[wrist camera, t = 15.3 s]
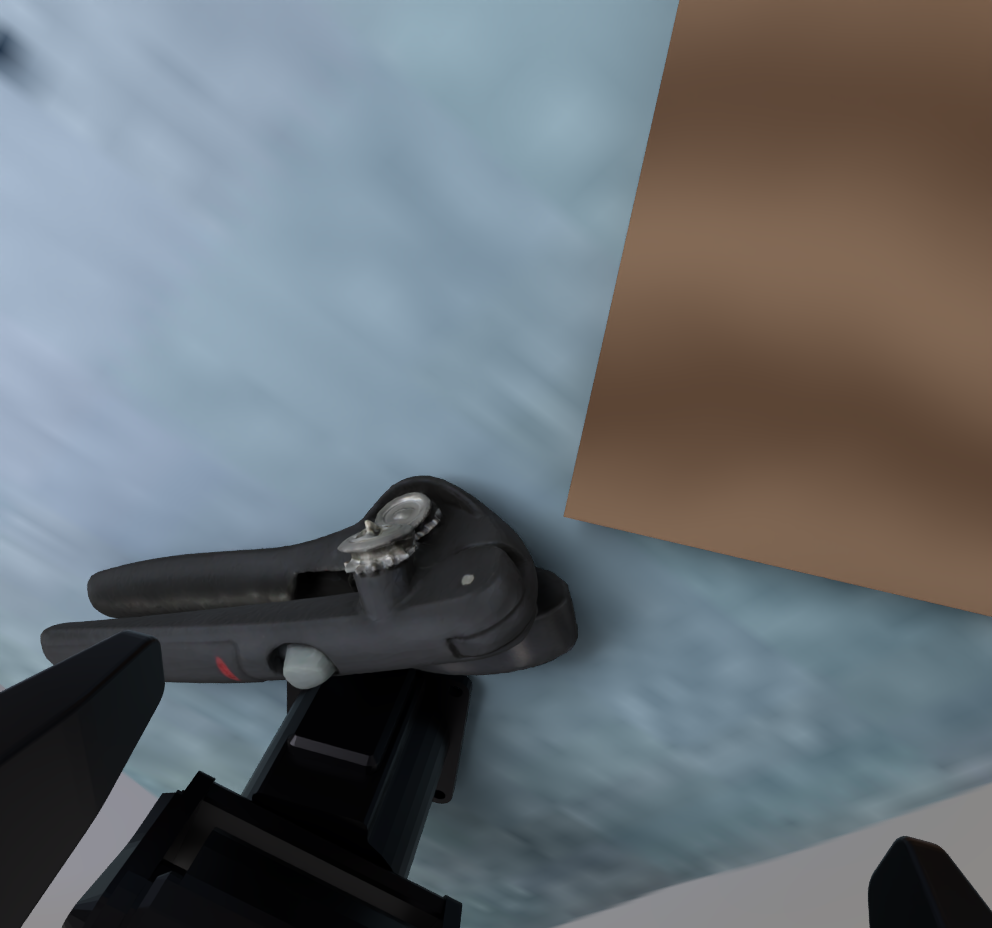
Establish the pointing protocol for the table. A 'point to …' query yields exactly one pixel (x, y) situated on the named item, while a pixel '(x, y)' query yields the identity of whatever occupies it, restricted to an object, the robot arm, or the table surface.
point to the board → (809, 299)
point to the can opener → (344, 600)
